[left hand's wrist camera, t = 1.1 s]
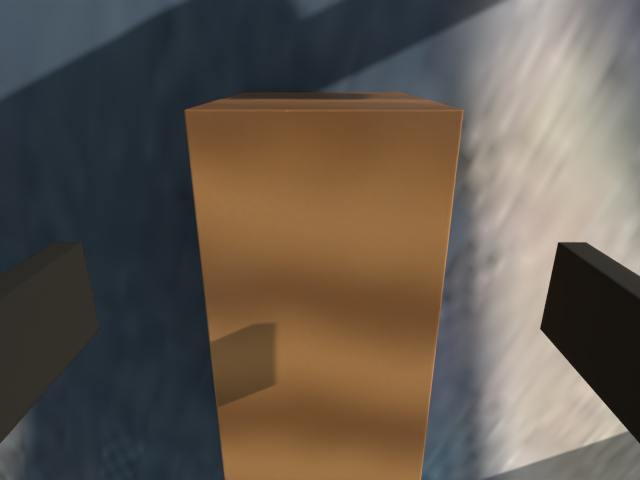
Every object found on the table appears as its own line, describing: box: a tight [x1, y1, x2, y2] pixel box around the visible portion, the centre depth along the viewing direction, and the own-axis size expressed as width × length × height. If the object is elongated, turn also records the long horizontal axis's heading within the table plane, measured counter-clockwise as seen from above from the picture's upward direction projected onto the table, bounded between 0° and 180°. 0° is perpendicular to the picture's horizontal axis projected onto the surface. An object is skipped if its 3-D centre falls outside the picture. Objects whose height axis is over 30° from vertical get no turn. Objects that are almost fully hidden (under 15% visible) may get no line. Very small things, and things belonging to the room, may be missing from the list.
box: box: [184, 92, 463, 480], centre depth 22 cm, size 24×8×11 cm, turn 0°
